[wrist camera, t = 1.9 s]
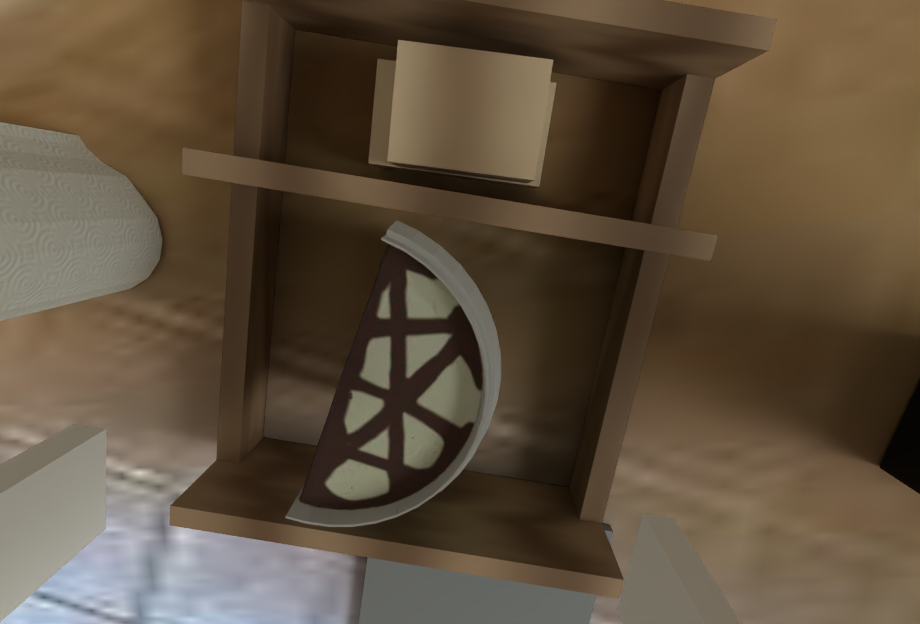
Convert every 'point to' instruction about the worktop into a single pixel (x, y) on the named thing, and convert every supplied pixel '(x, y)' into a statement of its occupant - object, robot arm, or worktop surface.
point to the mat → (464, 598)
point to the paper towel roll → (67, 224)
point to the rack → (644, 237)
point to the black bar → (906, 447)
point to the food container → (405, 391)
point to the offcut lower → (383, 122)
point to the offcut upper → (468, 111)
